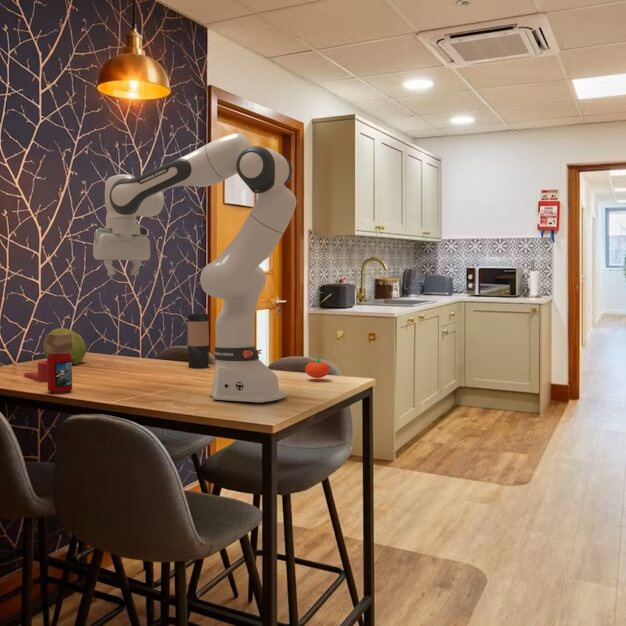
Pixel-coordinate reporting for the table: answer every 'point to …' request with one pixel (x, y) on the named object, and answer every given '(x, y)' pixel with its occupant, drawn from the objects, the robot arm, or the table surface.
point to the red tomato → (317, 369)
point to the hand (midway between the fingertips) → (123, 275)
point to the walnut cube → (58, 342)
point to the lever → (39, 373)
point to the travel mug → (198, 341)
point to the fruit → (77, 345)
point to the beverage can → (59, 372)
